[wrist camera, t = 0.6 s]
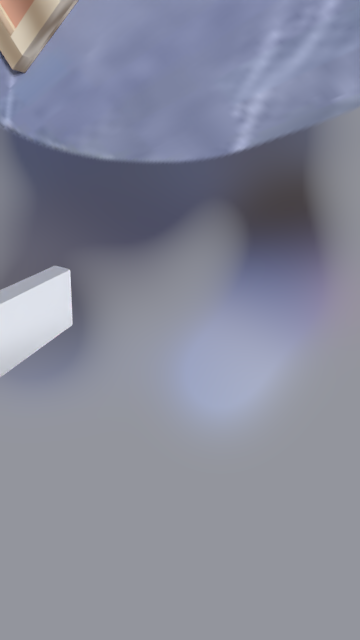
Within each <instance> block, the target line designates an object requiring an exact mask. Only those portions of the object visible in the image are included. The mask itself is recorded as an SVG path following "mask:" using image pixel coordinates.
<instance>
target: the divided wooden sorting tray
mask: <svg viewBox="0 0 360 640" xmlns="http://www.w3.org/2000/svg"><path fill="white" fill-rule="evenodd" d="M77 2H78V0H0V51H1V52H2V54H3V55H4V57H5V59H6V60H7V62H8V63H9V65H10V66H11V68H12V69H13V70H17V71H20V72H24V73H25V72H26V71H27V69H28V68H29V67H30V65H31V64H32V63H33V61H34V60H35V59H36V57H37V56H38V54H39V53H40V52H41V50H42V49H43V48H44V46H45V45H46V44H47V42H48V41H49V40H50V38H51V37H52V35H53V34H54V33H55V31H56V30H57V29H58V27H59V26H60V25H61V23H62V22H63V21H64V19H65V18H66V16H67V15H68V14H69V12H70V11H71V10H72V8H73V7H74V6H75V4H76V3H77Z"/></svg>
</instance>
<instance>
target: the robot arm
mask: <svg viewBox="0 0 360 640" xmlns="http://www.w3.org/2000/svg"><path fill="white" fill-rule="evenodd" d="M71 325H72V301H71V278H70V270H69V269H66V268H62V267H58V266H53V267H51V268H49V269H46V270H44V271H42V272H40V273H37V274H35V275H33V276H31V277H28V278H26V279H24V280H22V281H19V282H18V283H15V284H13V285H11V286H9V287H6V288H4V289H2V290H0V377H1V376H3V375H4V374H5V373H6V372H8V371H9V370H11V369H12V368H14V367H15V366H16V365H18V364H19V363H20V362H22V361H23V360H25V359H26V358H27V357H29V356H30V355H31V354H33V353H34V352H36V351H37V350H38V349H40V348H41V347H42V346H44V345H45V344H47V343H48V342H49V341H51V340H52V339H53V338H55V337H56V336H58V335H59V334H60V333H62V332H63V331H64V330H65V329H67V328H69V327H70V326H71Z"/></svg>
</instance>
